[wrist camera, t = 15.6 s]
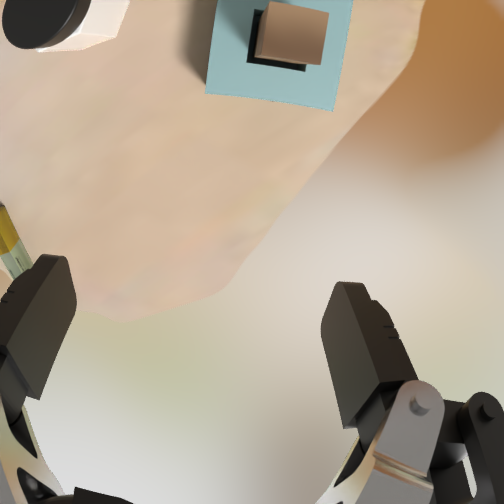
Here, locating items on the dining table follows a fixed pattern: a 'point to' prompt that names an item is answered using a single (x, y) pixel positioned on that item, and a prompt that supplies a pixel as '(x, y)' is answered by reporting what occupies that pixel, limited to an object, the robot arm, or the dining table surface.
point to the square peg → (291, 34)
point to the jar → (61, 23)
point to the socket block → (269, 71)
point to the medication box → (12, 247)
